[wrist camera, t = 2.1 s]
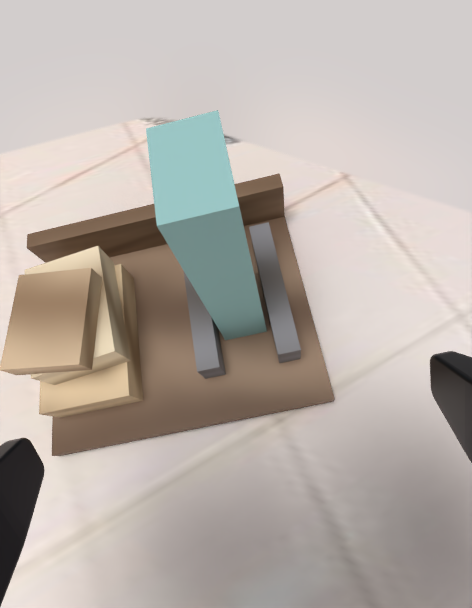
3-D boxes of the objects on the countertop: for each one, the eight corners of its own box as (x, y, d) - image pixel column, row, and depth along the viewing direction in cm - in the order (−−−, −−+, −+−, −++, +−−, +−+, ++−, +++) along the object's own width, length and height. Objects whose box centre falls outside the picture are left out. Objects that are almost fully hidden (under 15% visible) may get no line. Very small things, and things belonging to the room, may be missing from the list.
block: (266, 331, 22) (239, 206, 11) (225, 340, 22) (156, 225, 11) (253, 272, 24) (218, 110, 13) (215, 280, 24) (146, 128, 13)
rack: (333, 401, 21) (347, 381, 15) (60, 455, 22) (-20, 455, 16) (281, 211, 26) (277, 145, 20) (62, 263, 27) (2, 213, 21)
